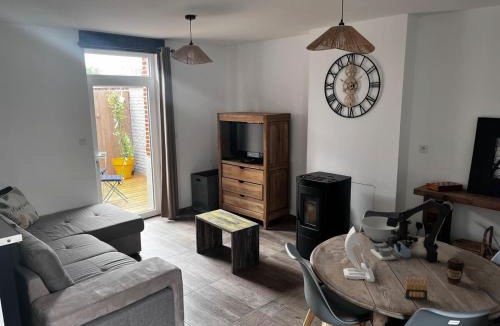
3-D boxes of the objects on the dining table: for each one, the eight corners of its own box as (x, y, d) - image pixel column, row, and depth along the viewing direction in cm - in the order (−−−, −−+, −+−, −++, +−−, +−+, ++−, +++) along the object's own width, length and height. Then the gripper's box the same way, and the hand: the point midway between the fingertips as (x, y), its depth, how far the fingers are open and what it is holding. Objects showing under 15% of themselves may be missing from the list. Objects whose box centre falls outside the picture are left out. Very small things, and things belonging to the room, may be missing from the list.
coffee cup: (462, 287, 196) (464, 265, 193) (444, 283, 200) (446, 261, 197) (462, 280, 203) (465, 258, 200) (446, 276, 207) (448, 255, 205)
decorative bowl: (352, 234, 271) (353, 218, 268) (383, 229, 278) (384, 214, 276) (375, 248, 245) (376, 231, 243) (408, 243, 253) (409, 226, 251)
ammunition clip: (405, 298, 187) (406, 276, 184) (404, 296, 189) (405, 275, 186) (427, 299, 185) (429, 278, 183) (426, 297, 187) (427, 276, 185)
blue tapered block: (410, 257, 233) (411, 249, 232) (404, 257, 232) (404, 250, 231) (400, 249, 244) (400, 242, 243) (393, 249, 243) (394, 242, 242)
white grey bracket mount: (394, 258, 230) (394, 249, 229) (380, 260, 229) (381, 250, 227) (383, 250, 243) (383, 241, 241) (370, 251, 241) (371, 242, 240)
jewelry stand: (374, 282, 203) (376, 240, 198) (345, 280, 205) (347, 239, 200) (365, 261, 227) (367, 223, 223) (340, 260, 229) (341, 223, 224)
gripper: (409, 223, 244) (407, 245, 247) (383, 225, 241) (382, 247, 244) (419, 229, 233) (417, 252, 236) (392, 232, 230) (391, 255, 233)
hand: (402, 251), depth 238 cm, fingers closed on blue tapered block, 4 cm apart
